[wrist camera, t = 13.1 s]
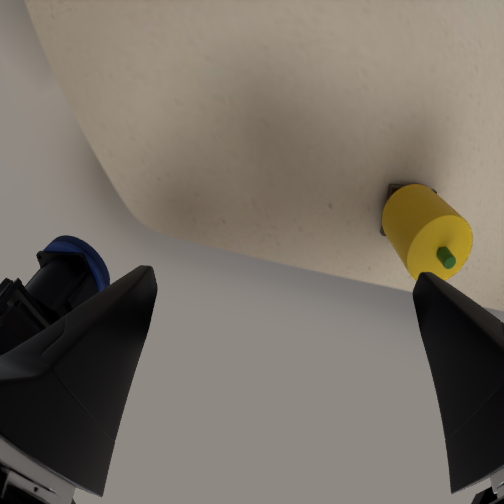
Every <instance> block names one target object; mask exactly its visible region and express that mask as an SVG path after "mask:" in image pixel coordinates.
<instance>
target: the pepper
mask: <svg viewBox="0 0 504 504" xmlns="http://www.w3.org/2000/svg"><path fill="white" fill-rule="evenodd" d="M382 226H383V230H384V232H385V234H386V236H387V237H388V239H389V240H390V242H391V244H392V245H393V247H394V248H395V250H396V252H397V253H398V255H399V257H400V258H401V260H402V262H403V263H404V265H405V267H406V268H407V270H408V272H409V274H410V275H411V277H412V278H413V279H415V280H416V281H417V279H418V276H419V274H420V273H421V272H432V273H434V274H435V275H437V276H438V277H440V278H441V279H443V280H444V281H445V280H447V279H449V278H450V277H452V276H453V275H454V274H455V273H457V272H458V271H459V270H460V269H461V267H462V266H463V265H464V263H465V262H466V260H467V258H468V256H469V254H470V251H471V248H472V241H473V237H472V231H471V228H470V226H469V224H468V223H467V221H466V220H465V219H464V218H463V217H462V216H461V215H459V214H458V213H457V212H456V211H455V210H454V209H453V208H452V207H451V206H450V205H448V204H447V203H446V202H445V201H444V200H443V199H442V198H440V197H439V196H438V195H437V194H436V193H435V192H433V191H432V190H431V189H430V188H428V187H427V186H424V185H420V184H411V185H407V186H404V187H402V188H400V189H399V190H397V191H396V192H395V193H394V194H393V195H392V196H391V197H390V198H389V200H388V201H387V203H386V205H385V207H384V210H383V214H382Z"/></svg>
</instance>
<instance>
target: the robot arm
mask: <svg viewBox="0 0 504 504" xmlns="http://www.w3.org/2000/svg"><path fill="white" fill-rule="evenodd" d="M36 256H37V259H38V261H39V264H40V266H41V268H40V269H39V270H38V272H37V273H36V274H35V275H34V276H33V277H32V279H31V280H30V281H29V282H28V283H27V285H26V286H25V287H24V286H23V285H22V282H21V280H20V279H19V278H17V279H16V280H15V281H14V282H13V281H12V280H10V279H7V278H5V279H4V280H3V281H2V283H1V284H0V504H76V503H75V502H74V500H73V495H74V491H75V487H77V488H79V489H82V490H84V491H86V492H89V493H91V494H94V495H97V496H99V497H102V496H103V492H104V488H105V483H106V479H107V474H108V469H109V465H110V461H111V457H112V453H113V449H114V445H115V440H116V436H117V432H118V429H119V425H120V421H121V418H122V414H123V411H124V407H125V403H126V400H127V397H128V393H129V390H130V386H131V383H132V380H133V377H134V373H135V370H136V367H137V364H138V361H139V358H140V355H141V351H142V348H143V346H144V342H145V340H146V337H147V333H148V330H149V326H150V322H151V317H152V313H153V308H154V303H155V299H156V295H157V283H156V279H155V274H154V270H153V268H152V267H151V266H144V265H141V266H139V267H137V268H135V269H134V270H132V271H131V272H129V273H128V274H126V275H125V276H123V277H122V278H120V279H119V280H117V281H116V282H114V283H112V284H111V285H109V286H108V287H106V288H105V289H103V290H102V291H100V292H98V289H97V287H96V284H95V281H94V278H93V276H92V273H91V270H90V267H89V264H88V261H87V258H86V256H85V254H83V253H81V252H58V251H39V252H38V253H37V255H36ZM80 257H81V258H82V259H81V258H80ZM413 300H414V304H415V309H416V314H417V319H418V323H419V328H420V332H421V336H422V340H423V343H424V347H425V350H426V354H427V357H428V361H429V365H430V369H431V373H432V377H433V381H434V385H435V389H436V393H437V398H438V403H439V408H440V413H441V418H442V423H443V429H444V435H445V439H446V440H445V443H446V450H447V457H448V465H449V475H450V487H451V493H452V494H454V493H456V492H459V491H461V490H463V489H466V488H468V487H470V486H473V485H475V484H477V483H479V482H481V481H483V480H485V479H487V478H489V477H490V480H491V484H492V487H490V488H488V489H486V490H484V491H482V492H480V493H478V494H476V495H475V497H474V499H473V502H472V503H471V504H504V323H503V322H501V321H500V320H499V319H497V318H496V317H495V316H494V315H492V314H491V313H490V312H488V311H487V310H485V309H484V308H483V307H481V306H480V305H479V304H477V303H476V302H474V301H473V300H472V299H470V298H469V297H467V296H466V295H465V294H463V293H462V292H460V291H459V290H457V289H456V288H454V287H453V286H451V285H450V284H449V283H447V282H446V281H444V280H443V279H441V278H440V277H438V276H437V275H435V274H434V273H432V272H421V273H420V274H419V276H418V279H417V282H416V284H415V287H414V290H413Z"/></svg>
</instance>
